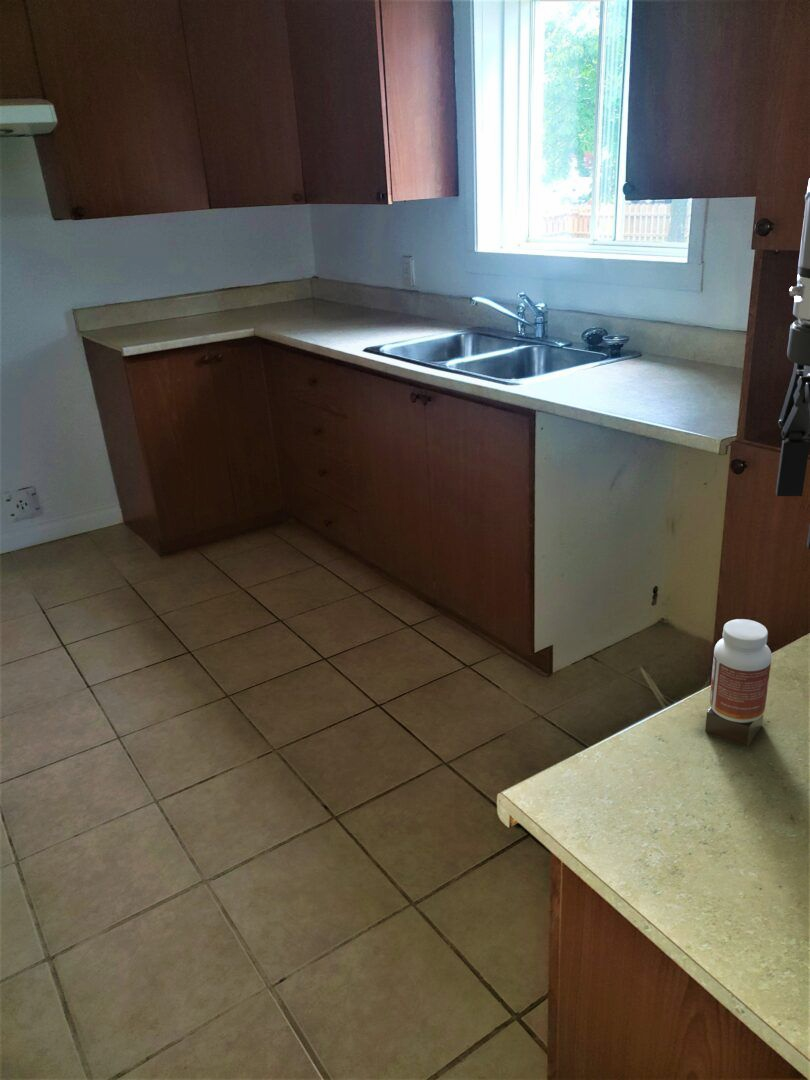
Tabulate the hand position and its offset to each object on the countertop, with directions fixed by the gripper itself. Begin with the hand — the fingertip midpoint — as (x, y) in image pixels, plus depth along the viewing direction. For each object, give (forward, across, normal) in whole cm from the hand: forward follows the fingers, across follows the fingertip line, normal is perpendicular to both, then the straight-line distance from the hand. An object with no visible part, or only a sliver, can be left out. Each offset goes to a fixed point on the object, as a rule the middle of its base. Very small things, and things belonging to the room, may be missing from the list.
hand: (804, 519), depth 88 cm
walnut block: (+27, +2, -5) cm, 27 cm away
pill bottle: (+24, +2, -5) cm, 25 cm away
